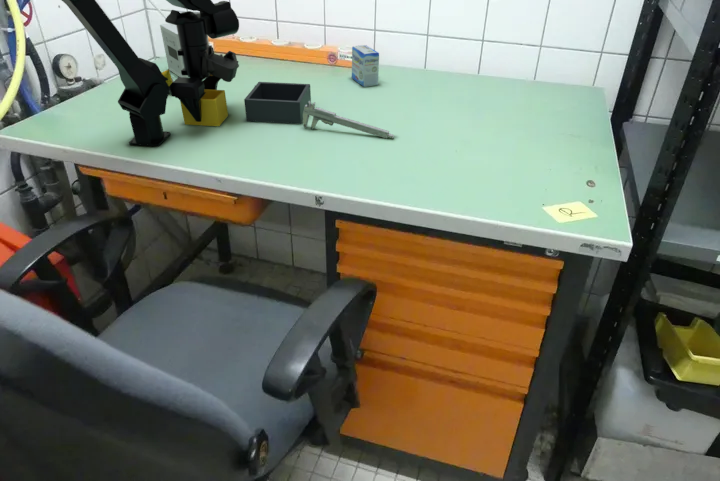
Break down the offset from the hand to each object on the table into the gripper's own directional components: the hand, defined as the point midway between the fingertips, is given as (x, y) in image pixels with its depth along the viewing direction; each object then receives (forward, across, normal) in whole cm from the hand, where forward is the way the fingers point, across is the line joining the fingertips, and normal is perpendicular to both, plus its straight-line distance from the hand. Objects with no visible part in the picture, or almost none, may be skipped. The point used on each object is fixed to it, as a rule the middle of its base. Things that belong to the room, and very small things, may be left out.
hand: (205, 114), depth 120 cm
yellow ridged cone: (+2, +16, +16) cm, 23 cm away
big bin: (+1, +6, -16) cm, 17 cm away
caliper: (+2, -3, -33) cm, 33 cm away
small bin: (+1, 0, 0) cm, 1 cm away
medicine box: (+2, +31, -33) cm, 45 cm away
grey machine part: (+2, +34, +14) cm, 37 cm away
